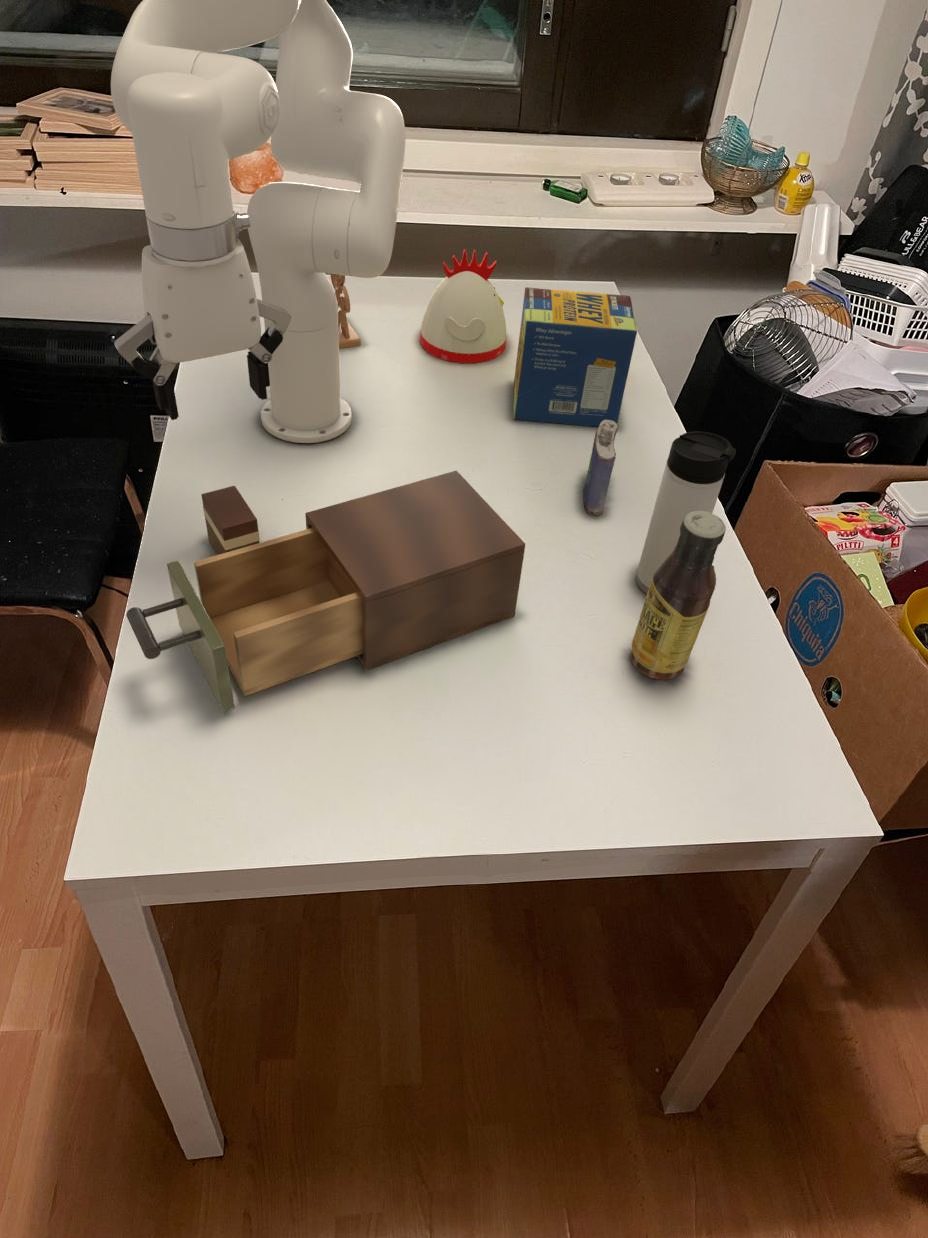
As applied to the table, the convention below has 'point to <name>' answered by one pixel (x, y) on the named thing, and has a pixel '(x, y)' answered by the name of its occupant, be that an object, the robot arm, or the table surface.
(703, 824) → the table surface
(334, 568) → the drawer
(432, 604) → the cabinet
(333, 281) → the wooden sculpture
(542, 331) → the protein box
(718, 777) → the table surface
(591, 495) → the flask
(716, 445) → the travel mug
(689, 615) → the sauce bottle
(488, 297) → the kitchen timer
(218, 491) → the snack box
